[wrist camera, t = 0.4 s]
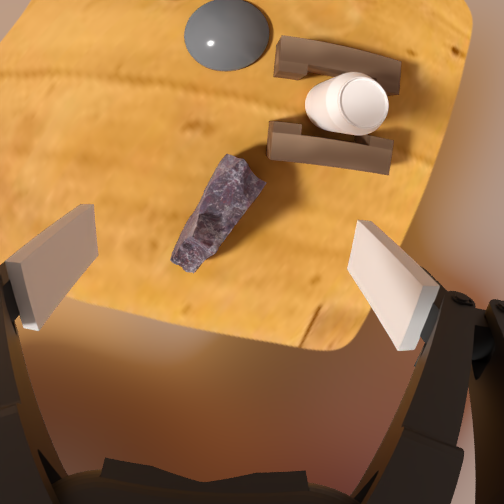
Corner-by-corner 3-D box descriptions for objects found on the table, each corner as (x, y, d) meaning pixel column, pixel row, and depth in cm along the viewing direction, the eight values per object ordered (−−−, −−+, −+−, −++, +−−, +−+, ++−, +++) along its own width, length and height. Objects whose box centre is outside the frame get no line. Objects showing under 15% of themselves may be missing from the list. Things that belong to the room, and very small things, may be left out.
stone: (234, 155, 28) (147, 277, 32) (287, 194, 30) (196, 306, 34) (229, 145, 38) (161, 239, 41) (268, 174, 40) (199, 263, 44)
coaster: (189, -2, 29) (189, -3, 29) (271, 3, 30) (272, 1, 30) (181, 70, 33) (180, 69, 33) (265, 74, 34) (265, 73, 34)
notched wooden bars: (276, 45, 32) (282, 35, 28) (383, 66, 34) (401, 61, 29) (266, 155, 38) (270, 159, 33) (372, 168, 39) (388, 175, 34)
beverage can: (295, 91, 35) (320, 79, 24) (341, 77, 34) (381, 63, 23) (313, 137, 37) (345, 145, 26) (358, 122, 37) (403, 126, 26)
